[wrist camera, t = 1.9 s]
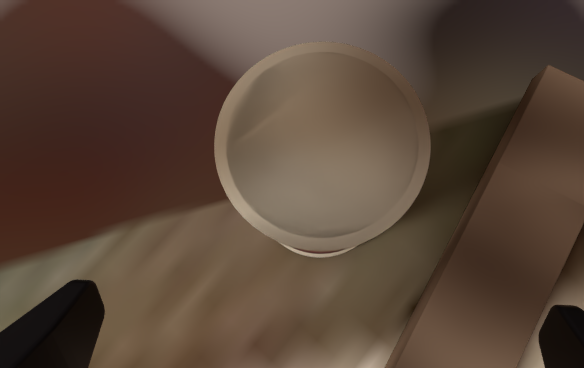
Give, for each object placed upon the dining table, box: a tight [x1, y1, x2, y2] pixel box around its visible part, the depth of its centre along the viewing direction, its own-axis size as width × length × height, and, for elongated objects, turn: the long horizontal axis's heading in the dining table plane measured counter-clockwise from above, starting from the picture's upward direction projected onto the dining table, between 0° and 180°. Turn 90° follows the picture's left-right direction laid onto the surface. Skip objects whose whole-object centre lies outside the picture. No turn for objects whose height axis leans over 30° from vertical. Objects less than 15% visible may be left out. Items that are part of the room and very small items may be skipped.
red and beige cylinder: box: [214, 42, 431, 258], centre depth 16 cm, size 6×6×9 cm
